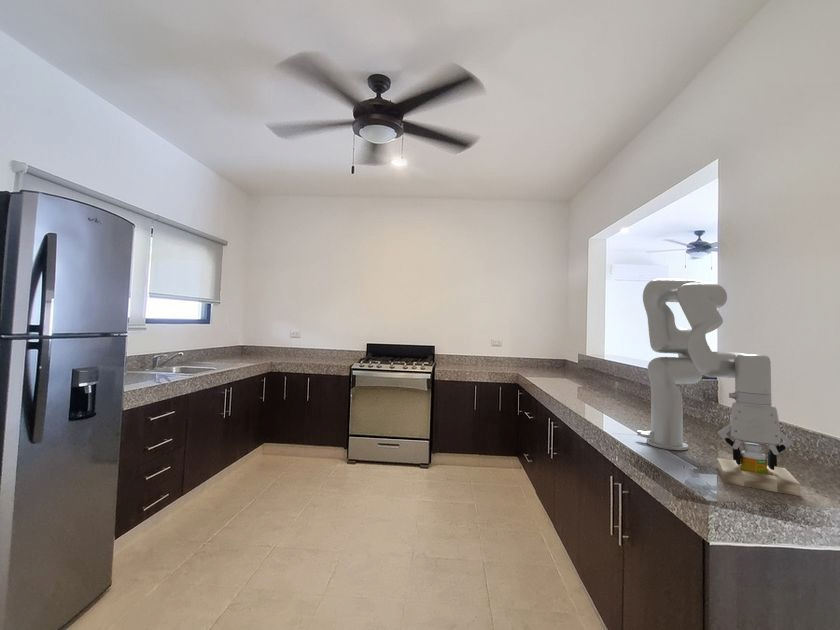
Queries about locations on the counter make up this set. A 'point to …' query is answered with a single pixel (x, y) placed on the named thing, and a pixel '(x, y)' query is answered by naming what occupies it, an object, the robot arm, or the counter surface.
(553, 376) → the counter surface
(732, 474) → the socket board
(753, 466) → the supplement bottle
